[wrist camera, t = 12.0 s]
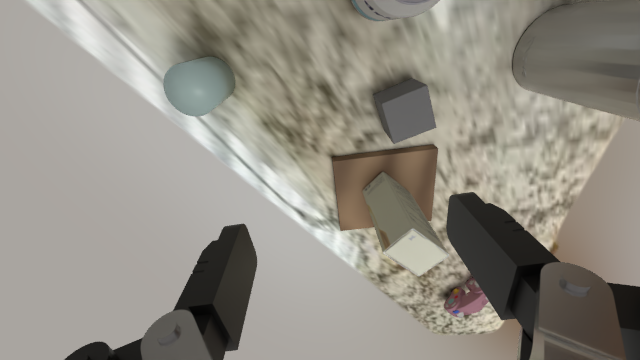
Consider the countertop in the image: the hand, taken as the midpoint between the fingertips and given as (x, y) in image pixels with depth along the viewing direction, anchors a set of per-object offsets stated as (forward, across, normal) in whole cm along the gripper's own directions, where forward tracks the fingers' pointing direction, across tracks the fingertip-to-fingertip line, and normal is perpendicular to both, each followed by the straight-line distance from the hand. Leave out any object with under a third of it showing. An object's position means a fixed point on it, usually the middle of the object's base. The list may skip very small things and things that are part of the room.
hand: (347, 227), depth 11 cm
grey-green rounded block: (+26, +13, -4) cm, 29 cm away
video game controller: (+26, -21, +39) cm, 52 cm away
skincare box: (+24, -7, +15) cm, 30 cm away
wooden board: (+26, -7, +15) cm, 31 cm away
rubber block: (+26, -9, +3) cm, 28 cm away
